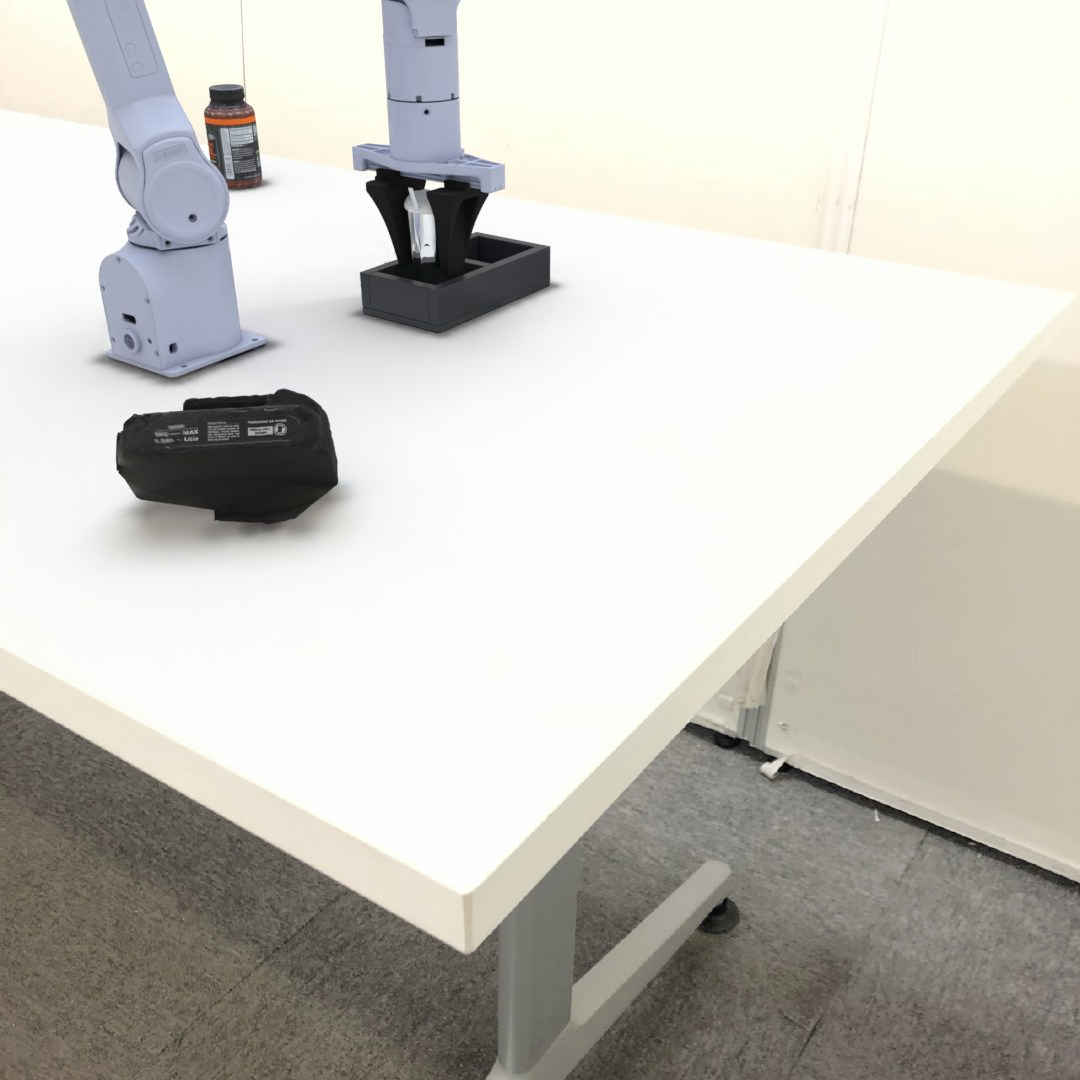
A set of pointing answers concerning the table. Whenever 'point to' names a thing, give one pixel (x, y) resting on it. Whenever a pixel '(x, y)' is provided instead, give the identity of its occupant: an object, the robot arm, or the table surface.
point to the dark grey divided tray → (458, 284)
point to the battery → (232, 456)
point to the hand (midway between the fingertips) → (431, 267)
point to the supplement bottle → (233, 136)
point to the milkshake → (423, 239)
